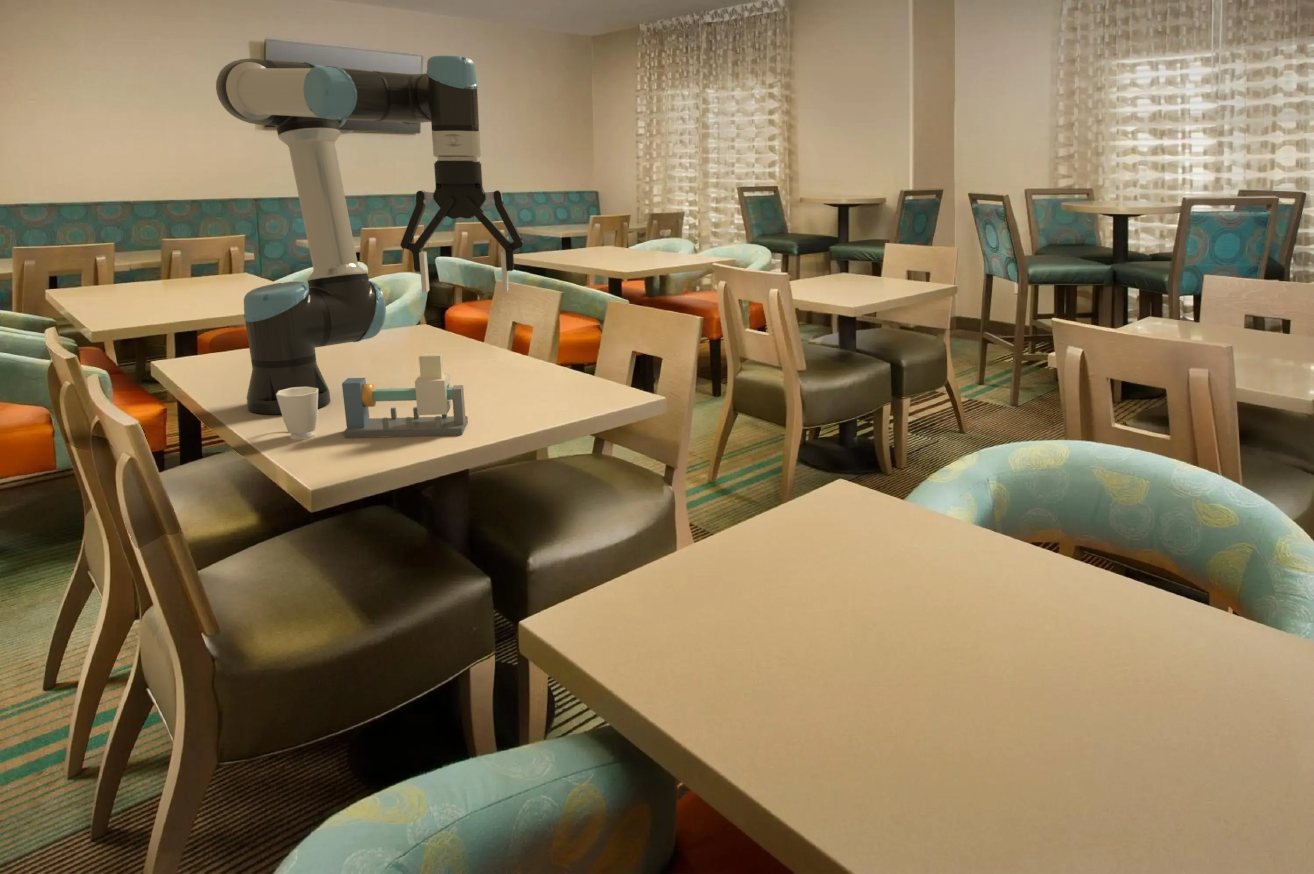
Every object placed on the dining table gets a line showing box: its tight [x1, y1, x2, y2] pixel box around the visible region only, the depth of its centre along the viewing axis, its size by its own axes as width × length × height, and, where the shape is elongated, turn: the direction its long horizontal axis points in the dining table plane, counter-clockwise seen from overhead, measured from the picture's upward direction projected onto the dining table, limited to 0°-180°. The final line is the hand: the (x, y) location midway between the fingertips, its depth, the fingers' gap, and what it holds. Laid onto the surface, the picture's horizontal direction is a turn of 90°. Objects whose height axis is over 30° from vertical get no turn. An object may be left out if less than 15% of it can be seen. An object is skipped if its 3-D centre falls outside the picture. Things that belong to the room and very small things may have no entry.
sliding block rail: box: [341, 377, 469, 439], centre depth 154 cm, size 20×8×9 cm, turn 95°
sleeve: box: [414, 352, 453, 416], centre depth 154 cm, size 5×6×10 cm
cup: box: [276, 387, 319, 441], centre depth 152 cm, size 7×10×8 cm
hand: (465, 291), depth 149 cm, fingers open, 13 cm apart
